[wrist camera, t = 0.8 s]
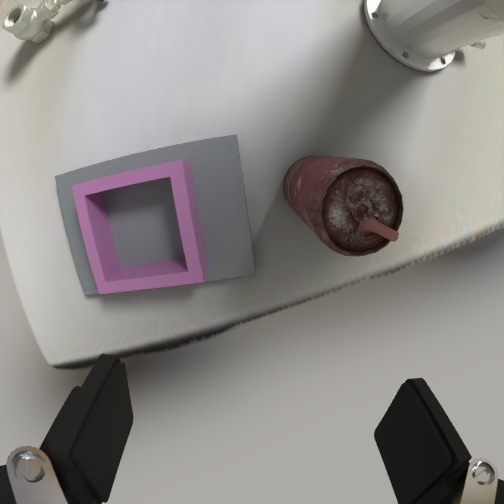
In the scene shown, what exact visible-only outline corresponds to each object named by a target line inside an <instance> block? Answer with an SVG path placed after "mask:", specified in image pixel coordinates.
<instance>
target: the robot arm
mask: <svg viewBox="0 0 504 504" xmlns="http://www.w3.org/2000/svg"><path fill="white" fill-rule="evenodd" d="M364 12H365V16H366V20H367V23H368V25H369V28H370V30H371V31H372V33H373V35H374V36H375V38H376V39H377V40H378V42H379V43H380V44H381V46H382V47H383V48H384V49H385V50H386V51H387V52H388V53H389V54H391V55H392V56H393V57H394V58H396V59H397V60H398V61H400V62H402V63H403V64H405V65H406V66H409V67H411V68H413V69H416V70H420V71H430V72H432V71H436V70H440V69H442V68H445V67H446V66H448V65H449V64H450V63H451V62H452V60H453V59H454V56H455V53H456V49H459V48H461V47H464V46H467V45H470V46H473V47H476V48H479V49H484V47H485V45H486V42H485V39H488V38H491V37H494V36H498V35H501V34H504V0H365V3H364ZM132 423H133V411H132V406H131V400H130V395H129V388H128V382H127V374H126V367H125V363H122V362H120V358H119V357H116V356H112V355H107V354H101V355H100V356H99V358H98V360H97V361H96V363H95V365H94V366H93V368H92V370H91V371H90V373H89V375H88V376H87V378H86V380H85V381H84V383H83V385H82V387H79V386H76V387H74V388H73V390H72V391H71V393H70V394H69V396H68V398H67V400H66V401H65V403H64V405H63V406H62V408H61V410H60V412H59V413H58V415H57V417H56V419H55V420H54V422H53V424H52V426H51V428H50V430H49V432H48V433H47V435H46V437H45V439H44V441H43V443H42V444H41V447H40V448H39V449H38V448H35V447H32V446H22V447H19V448H16V449H15V450H14V451H12V452H11V454H10V455H9V456H8V459H7V465H3V466H0V504H102V502H105V503H106V502H107V501H108V499H109V496H110V492H111V489H112V486H113V482H114V479H115V476H116V473H117V470H118V466H119V463H120V460H121V457H122V454H123V451H124V448H125V445H126V442H127V439H128V436H129V433H130V430H131V427H132ZM374 438H375V441H376V443H377V446H378V449H379V451H380V454H381V457H382V459H383V462H384V465H385V468H386V470H387V473H388V476H389V479H390V481H391V484H392V487H393V490H394V492H395V496H396V498H397V501H398V504H504V481H503V480H500V479H498V472H497V469H496V467H495V465H494V464H493V463H492V462H490V461H489V460H487V459H483V458H480V459H476V460H474V461H472V462H471V463H469V460H470V459H471V458H472V457H471V455H470V453H469V451H468V450H467V448H466V446H465V445H464V443H463V441H462V439H461V438H460V436H459V434H458V433H457V431H456V429H455V428H454V426H453V424H452V423H451V421H450V420H449V418H448V416H447V415H446V413H445V411H444V410H443V408H442V407H441V405H440V403H439V402H438V400H437V399H436V397H435V396H434V394H433V392H432V391H431V389H430V388H429V386H428V385H427V383H426V382H425V380H424V379H422V378H414V379H407V380H406V381H405V383H403V384H402V385H401V387H400V389H399V390H398V392H397V394H396V396H395V398H394V399H393V401H392V403H391V405H390V406H389V408H388V410H387V412H386V413H385V415H384V417H383V418H382V420H381V422H380V423H379V425H378V426H377V428H376V430H375V433H374Z"/></svg>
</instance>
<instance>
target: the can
mask: <svg viewBox="0 0 504 504" xmlns="http://www.w3.org/2000/svg"><path fill="white" fill-rule="evenodd" d="M283 190H284V194H285V198H286V200H287V201H288V203H289V205H290V206H291V207H292V209H293V210H294V211H295V212H296V213H297V214H298V215H299V216H300V217H301V218H302V220H303V221H304V222H305V223H306V224H307V225H308V226H309V227H310V229H311V230H312V231H313V232H314V233H315V234H316V235H317V236H318V238H319V239H320V240H321V241H322V242H323V243H324V244H326V245H327V246H328V247H329V248H330V249H331V250H333V251H335V252H337V253H340V254H342V255H345V256H364V255H368V254H371V253H375V252H377V251H379V250H380V249H382V248H383V247H385V246H386V245H388V243H389V242H390V241H396V240H397V239H398V236H399V234H398V232H397V231H398V229H399V227H400V224H401V221H402V215H403V202H402V195H401V193H400V191H399V188H398V186H397V184H396V183H395V181H394V178H393V177H392V176H391V175H390V174H389V173H388V172H387V171H386V170H385V169H384V168H383V167H381V166H380V165H378V164H376V163H374V162H372V161H369V160H362V159H354V158H339V157H320V156H310V157H305V158H302V159H300V160H298V161H297V162H295V163H294V164H293V165H292V166H291V167H290V168H289V170H288V171H287V174H286V176H285V178H284V187H283Z"/></svg>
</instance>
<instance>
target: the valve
mask: <svg viewBox="0 0 504 504" xmlns="http://www.w3.org/2000/svg"><path fill="white" fill-rule="evenodd" d="M70 1H72V0H44V1H42V2H41V3H40V5H39V7H38V8H28V7H26V6H24V5H22V4H20V3H19V4H18V5H16V6H15V7H14V8H12V9H11V10H10V11H9V12H8V14H7V15H6V17H5V19H4V22H3V27H2V28H3V29H5V30H6V31H8V32H10V33H13V34H14V36H15V37H16V38H18V39H20V40H31V41H33V42H35V43H37V44H38V43H40V42H41V41H42V40H44V39H45V38H46V37H48V36H49V35H50V32H51V29H52V26H53V23H54V22H53V21H51V20H50V19H52V18H53V17H55V16H56V15H58V9H60V5H62V4H63V5H66V4H67V3H69V2H70ZM101 1H104V0H101Z"/></svg>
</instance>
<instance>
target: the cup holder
mask: <svg viewBox="0 0 504 504" xmlns="http://www.w3.org/2000/svg"><path fill="white" fill-rule="evenodd" d="M55 180H56V185H57V191H58V196H59V201H60V206H61V211H62V215H63V220H64V224H65V228H66V232H67V236H68V240H69V244H70V248H71V252H72V255H73V259H74V262H75V266H76V269H77V272H78V276H79V279H80V282H81V285H82V288H83V291H84V294H85V295H92V294H107V293H116V292H126V291H135V290H144V289H153V288H161V287H170V286H178V285H186V284H195V283H203V282H206V281H214V280H222V279H230V278H237V277H245V276H252V275H256V272H255V264H254V257H253V250H252V243H251V236H250V228H249V221H248V214H247V207H246V200H245V192H244V185H243V178H242V171H241V164H240V156H239V149H238V142H237V135H231V136H224V137H218V138H211V139H205V140H200V141H194V142H188V143H183V144H178V145H173V146H168V147H163V148H158V149H154V150H149V151H145V152H141V153H136V154H132V155H128V156H124V157H120V158H116V159H112V160H109V161H105V162H101V163H98V164H94V165H91V166H87V167H84V168H80V169H77V170H74V171H70V172H67V173H64V174H61V175H58V176H55Z"/></svg>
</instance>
